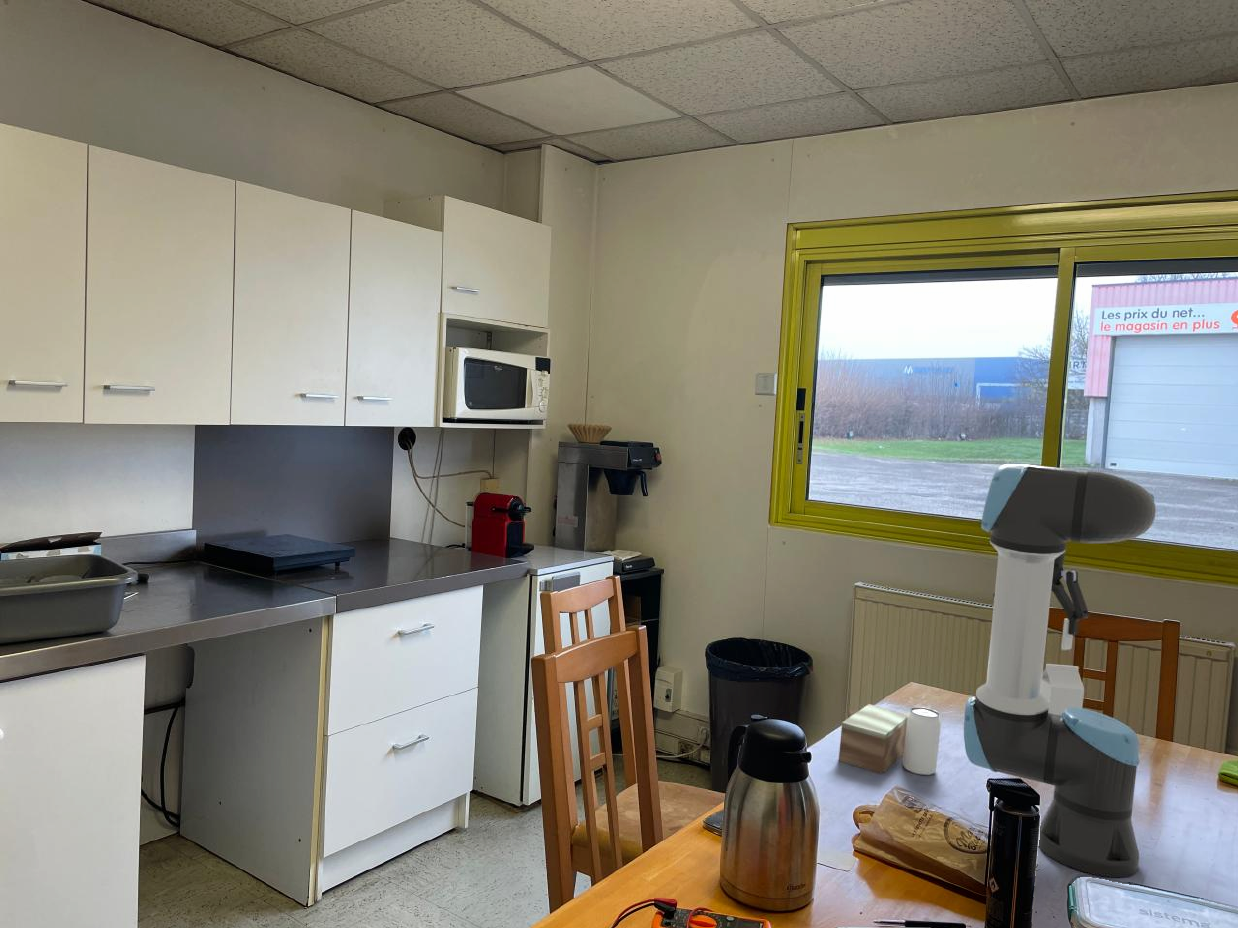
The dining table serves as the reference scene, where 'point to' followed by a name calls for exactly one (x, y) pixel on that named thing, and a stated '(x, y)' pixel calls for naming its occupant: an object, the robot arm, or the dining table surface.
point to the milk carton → (1062, 688)
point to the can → (922, 741)
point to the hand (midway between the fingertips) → (1035, 640)
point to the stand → (873, 738)
